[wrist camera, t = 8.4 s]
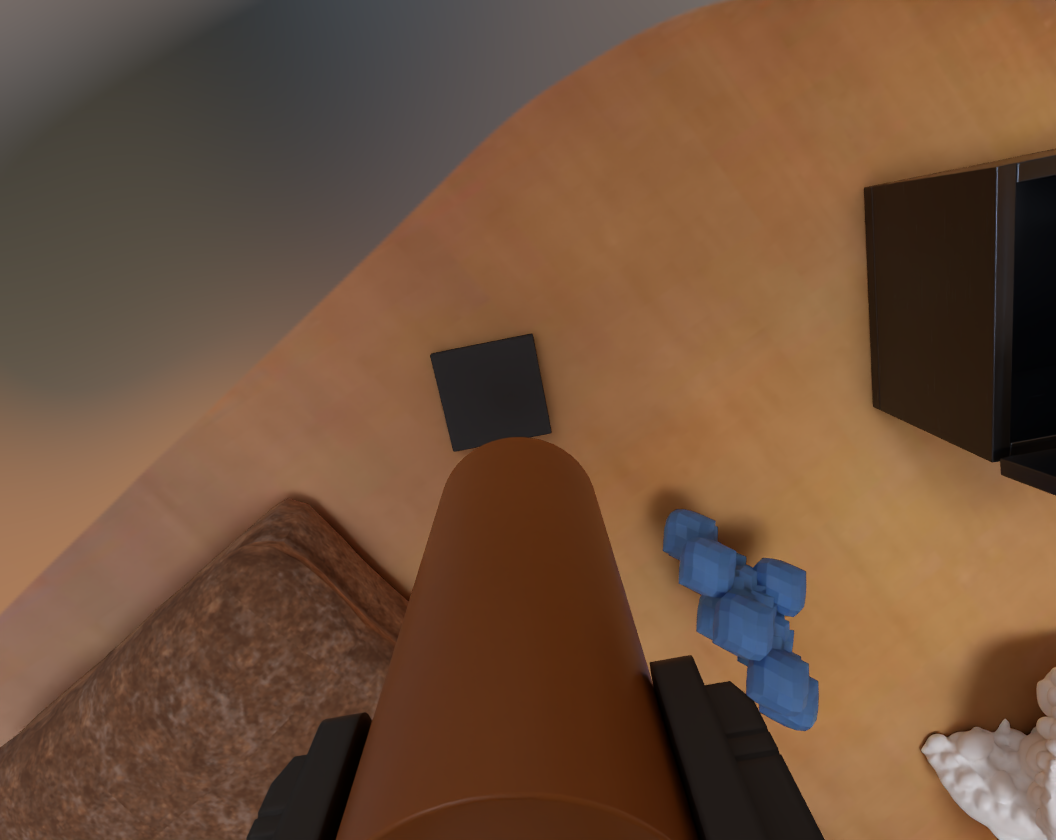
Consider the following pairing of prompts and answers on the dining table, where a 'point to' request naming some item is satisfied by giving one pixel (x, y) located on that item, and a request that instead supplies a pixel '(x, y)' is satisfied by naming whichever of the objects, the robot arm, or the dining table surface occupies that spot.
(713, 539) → the grapes
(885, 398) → the black hinged box
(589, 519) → the amber bottle
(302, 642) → the bread
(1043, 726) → the white lumpy sculpture
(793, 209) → the dining table surface
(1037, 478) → the lid
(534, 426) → the coaster
